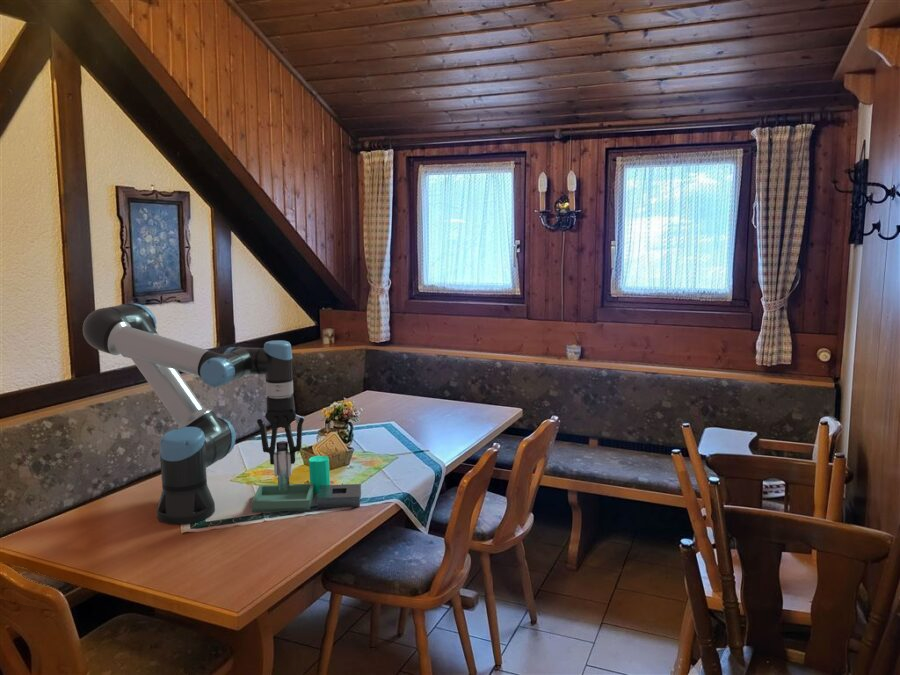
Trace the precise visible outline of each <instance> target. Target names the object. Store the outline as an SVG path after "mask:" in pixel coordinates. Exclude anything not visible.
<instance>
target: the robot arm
mask: <svg viewBox="0 0 900 675" xmlns="http://www.w3.org/2000/svg"><path fill="white" fill-rule="evenodd" d="M157 323H158V322H157V319H156V316H155V315H154V313H153V311H152V310H151V309H149V308H148V307H147V306H145V305H143V304H140V303H128V302H127V303H122V304H119V305H114V306H113V305H112V306H109V307H100V308H97V309H95V310H93V311H91V312H90V313H89V314H88V315H87V316H86V317H85V319H84V321H83V324H82V335H83V337H84V339H85V341H86V342H87V344H89V346H91V347H92V348H94V349H95V350H98V351H101V352H103V353H106V354H110V355H113V356H119V355H121V356H122V357H123V358H128V359H131V361H133V363H134V365H135V366H136V367H137V369H138V370H139V371H140V373H141V374H142V375H143V377H144V378H145V380H146V382H147V383H148V385H149V386H150V387H151V389H152V390H153V392H154V393H155V394H156V396H157V397H158V399H159V400H160V401H161V403H162V404H163V406H164V407H165V408H166V410H167V412H168V413H169V414H170V416H171V417H172V418H173V420H174V421H175V423H176V424H177V429H171V430H169V431H167V432H166V433H165V434H163V435H162V437H161V438H160V440H159V452H158V454H159V458H160V471H161V472H160V474H161V485H162V486H161V487H162V490H161V494H160V499H159V502H158V504H157V508H156V509H157V510H156V516H157V519H158V521H159V522H161V523H163V524H167V525H187V524H192V523H196V522H201V521H203V520H206V519H208V518H210V517H211V516H213V515H214V513H215V512H216V507H215V506H216V505H215V501H214V498H213V495H212V493H211V490H210V488H209V486H208V481H207V480H208V479H207V468H208V467H210V466H211V465H214V464H215V463H217V462H218V461H220V460H223V459H224V458H225V457H226V456H227V455H228V454H230V453H231V452H232V451H233V449H234V448H235V445H236V439H237V436H236V431H235V428H234V426H233V425H232V424H231V422H230V421H229V420H227V419H226V418H223V417H219V416H217V415H216V414H215V411H213V409H209V408H205V407H204V406H203V405H202V403H201V401H200V400H199V399H198V398H197V396H196V394H195V393H194V392H193V390H192V389H191V387H190V386H189V384H188V383H187V382H186V380H185V379H184V378H183V377H182V375H181V373H180V372H182V373H186V374H188V375H192V376H195V377H199V378H201V379H202V381H203V382H204V383H205V384H206V385H207V386H210V387H222V386H225V385H227V384H229V383H230V382H233V381H235V380H237V379H240V378H242V377H245V376H247V375H265V376H264V378H265V394H266V395H267V397H266V413H265V415H264V416H259V417H258V418H257V420H256V423H257V425H258V426H259V430H260V438H261V447H262V452H264V453H268V454H269V463H270V465H272V466H273V469H274V470H273V471H274V473H273V474H274V477H278V470H277V451H276V443H277V436H278V430H279V429H280V428H282V429H284V431H285V436H286V440H287V442H288V454H287V457H288V476H289V477H291V476H292V474H293V465H294V464H295V463H296V452H300V451H301V450H302V444H303V442H302V440H303V424H304V421H305V418H306V416H304V415H298V414H297V412H296V411H295V410H296V409H295V398H294V379H293V378H294V377H293V353H292V352H293V351H292V344H291V343H290V341H287V340H282V339H281V340H279V339H278V340H269V341H266V342H264V344H263V347H243V346H237V347H236V346H233V347H231V346H230V347H228V348H226V350H225V351H224V352H223V353H218V352H215V351H212V350H210V349H209V350H208V349H205V348H202V347H198V346H195V345H192V344H188V343H185V342H182V341H178V340H174V339H172V338H168V337H165V336H162V335H160V334H159V333H158V332H157V327H158V326H157ZM294 420H295V423H296V424H297V426H296V442H294V437H293V433H292V427H291V426H292V425H291V424H292V423H293V422H294ZM267 421H268V423H270V425H271V426H272V428H271V437H270V443H269V441H268V433H267V426H266V424H267ZM269 444H270V445H269ZM295 444H296V445H295Z"/></svg>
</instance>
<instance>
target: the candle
mask: <svg viewBox="0 0 900 675" xmlns="http://www.w3.org/2000/svg"><path fill="white" fill-rule="evenodd" d="M308 466H309V467H308V468H309V470H308V471H309V484H314V493H315V494H316V495H318V492H319V488H320V485H331V476H330V459H329V456H327V455H320V453H318V454H317V455H313V456H312V457H310V458H309V459H308ZM315 494H314V495H315Z"/></svg>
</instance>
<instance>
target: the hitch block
mask: <svg viewBox="0 0 900 675" xmlns="http://www.w3.org/2000/svg"><path fill="white" fill-rule="evenodd" d="M361 497H362V484H361V483H355V484H354V483H353V484H350V483H349V484H330V485H320V488H319V492H318V494H317V497H316V503H317V504H316V507H317V509H326V508H331V509H332V508H355V507H356V508H359V507H361Z"/></svg>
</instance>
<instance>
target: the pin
mask: <svg viewBox="0 0 900 675" xmlns="http://www.w3.org/2000/svg"><path fill="white" fill-rule="evenodd" d="M275 448H276V452H277V470H278V476H277V485H278V490H279V491H288V490H289V489H290V476H288V457H287V454H288V452H289V446H288V441H286V440H280V441H276V446H275Z"/></svg>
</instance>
